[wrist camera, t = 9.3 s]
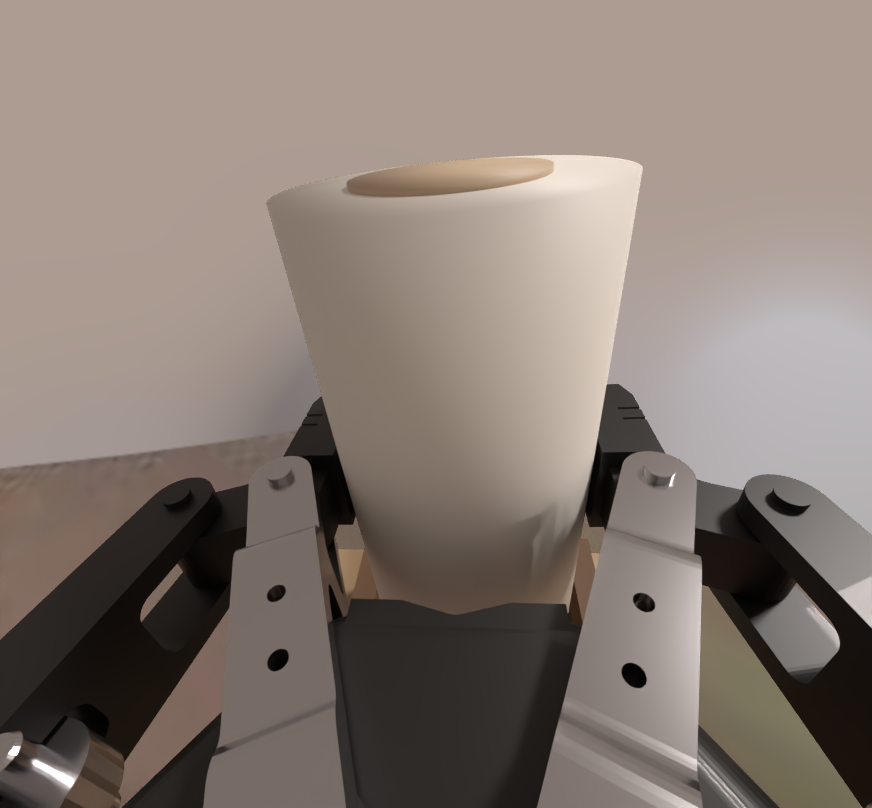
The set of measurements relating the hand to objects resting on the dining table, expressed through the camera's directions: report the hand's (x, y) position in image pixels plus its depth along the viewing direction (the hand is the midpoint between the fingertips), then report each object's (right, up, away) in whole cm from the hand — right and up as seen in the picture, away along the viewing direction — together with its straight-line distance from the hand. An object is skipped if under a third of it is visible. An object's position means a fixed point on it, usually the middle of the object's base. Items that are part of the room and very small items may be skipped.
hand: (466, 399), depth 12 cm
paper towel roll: (+1, -9, +3) cm, 9 cm away
